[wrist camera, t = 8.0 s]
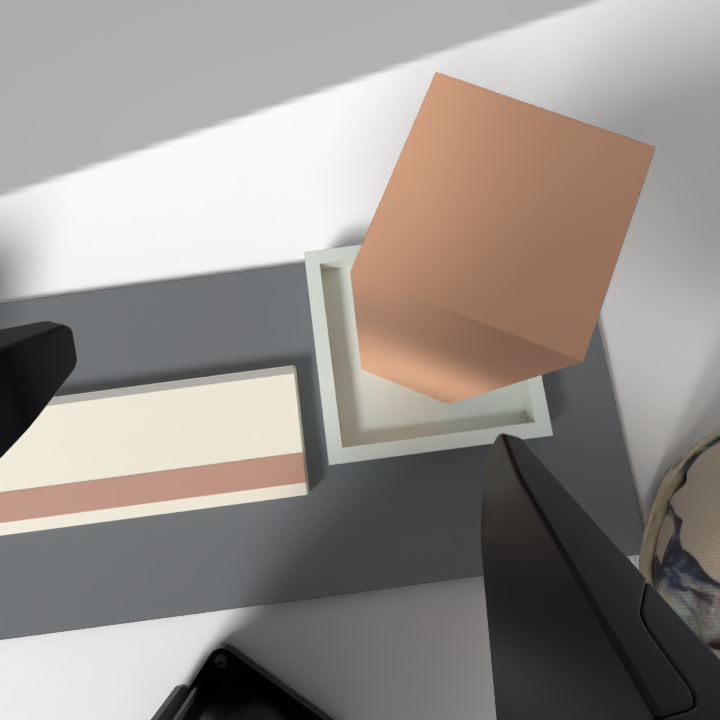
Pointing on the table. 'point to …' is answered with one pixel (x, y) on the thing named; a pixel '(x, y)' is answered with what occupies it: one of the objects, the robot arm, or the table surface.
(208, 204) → the table surface
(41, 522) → the strip
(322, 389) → the tray
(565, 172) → the stub
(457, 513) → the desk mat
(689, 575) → the pencil case
